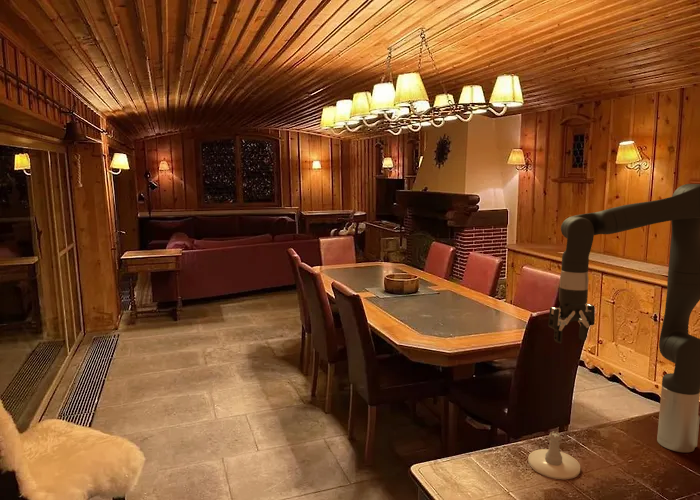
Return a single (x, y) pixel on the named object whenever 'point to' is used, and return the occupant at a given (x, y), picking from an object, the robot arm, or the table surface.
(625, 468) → the table surface
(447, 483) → the table surface
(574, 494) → the table surface
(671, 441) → the robot arm
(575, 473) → the cream plate
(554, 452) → the rook chess piece
